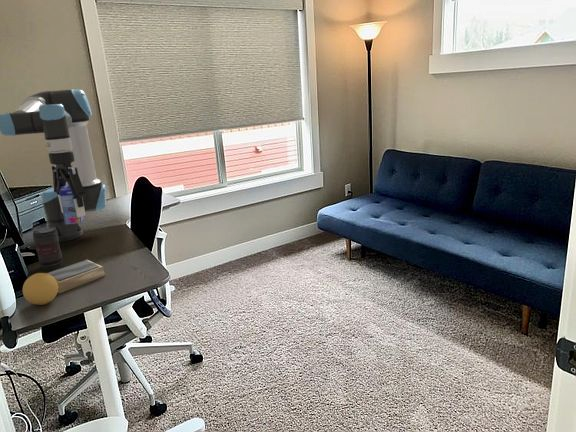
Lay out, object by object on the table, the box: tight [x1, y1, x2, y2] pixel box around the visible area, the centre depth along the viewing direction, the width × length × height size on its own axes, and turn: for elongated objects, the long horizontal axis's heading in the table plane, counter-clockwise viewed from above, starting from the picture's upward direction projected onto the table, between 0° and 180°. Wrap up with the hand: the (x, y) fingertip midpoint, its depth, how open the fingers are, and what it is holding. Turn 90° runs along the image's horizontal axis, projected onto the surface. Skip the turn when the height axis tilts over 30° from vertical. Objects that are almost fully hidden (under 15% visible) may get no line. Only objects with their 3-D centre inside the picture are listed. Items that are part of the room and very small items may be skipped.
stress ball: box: [22, 272, 59, 306], centre depth 139 cm, size 10×10×10 cm
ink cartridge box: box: [59, 184, 84, 225], centre depth 153 cm, size 10×6×14 cm, turn 21°
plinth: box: [47, 259, 106, 294], centre depth 155 cm, size 12×16×4 cm
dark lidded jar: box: [32, 226, 63, 270], centre depth 168 cm, size 8×8×15 cm
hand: (73, 213), depth 155 cm, fingers closed on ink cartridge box, 11 cm apart
